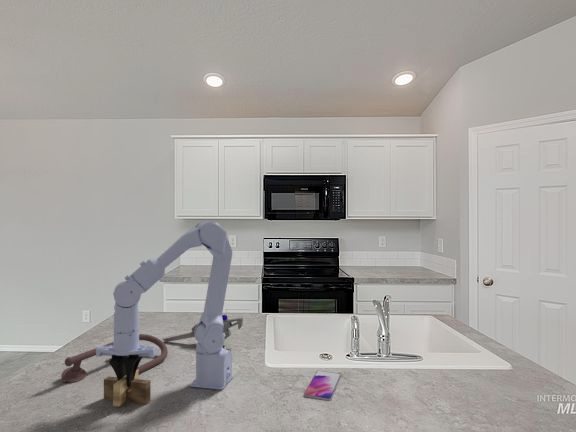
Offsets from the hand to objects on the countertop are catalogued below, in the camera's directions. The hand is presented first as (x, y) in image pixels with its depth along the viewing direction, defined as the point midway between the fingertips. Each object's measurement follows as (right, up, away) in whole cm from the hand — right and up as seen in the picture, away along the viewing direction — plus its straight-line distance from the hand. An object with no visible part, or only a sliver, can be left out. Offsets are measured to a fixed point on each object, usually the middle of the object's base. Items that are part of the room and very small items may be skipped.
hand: (126, 385), depth 86 cm
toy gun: (+9, -5, +40) cm, 41 cm away
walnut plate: (0, -4, 0) cm, 4 cm away
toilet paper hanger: (-11, -5, +19) cm, 22 cm away
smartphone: (+50, -4, +7) cm, 50 cm away
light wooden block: (0, -3, 0) cm, 3 cm away
